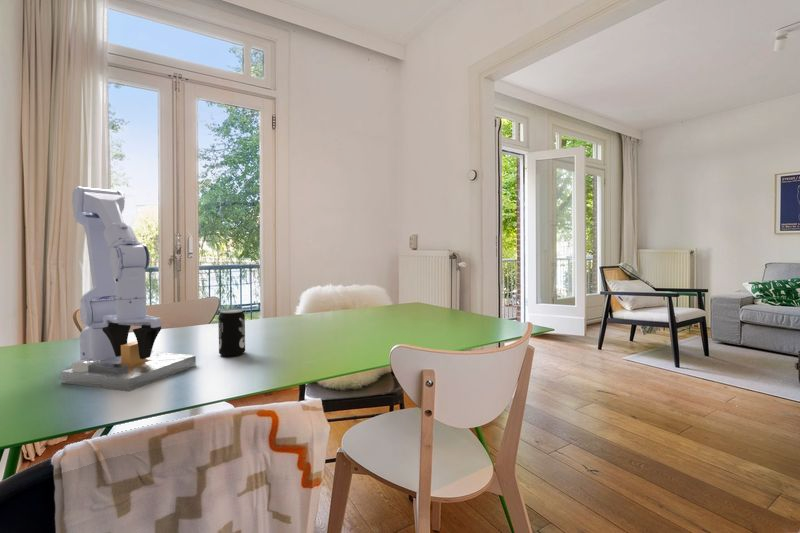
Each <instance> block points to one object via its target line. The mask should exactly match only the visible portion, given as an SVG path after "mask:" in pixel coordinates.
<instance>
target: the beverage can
mask: <svg viewBox="0 0 800 533" xmlns="http://www.w3.org/2000/svg"><path fill="white" fill-rule="evenodd" d="M219 312H220V313H219V315H218V317H217V321H218V325H217V326H218V354H220V356H221V357H224V358H233V357H238V356H242V355H243V354H244V353H245V352H246V318H245V317H246V315H245V313H244V309H242V308H241V309H240V308H228V309H227V308H226V309H221V310H220V311H219Z"/></svg>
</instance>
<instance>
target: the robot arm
mask: <svg viewBox="0 0 800 533" xmlns="http://www.w3.org/2000/svg"><path fill="white" fill-rule="evenodd" d="M71 199H72V200H71V201H72V202H71V204H72V211H73V216H74V219H75V222H76V223H79V224H80V225H82V226H83V229H84V231H85V232H84V233H85V238H86V244H87V252H88V259H89V261H88V262H89V267H90V276H91V282H92V283H91V284H92V287H91V289H90V290H89V291H87V292H85V293H84V294H83V295H82V296H81V298H80V300H79V301H80V302H79V303H80V309H79V310H80V312H79V314H80V316H79V317H80V319H81V320H80V321H81V323H82V324H83V325H84V328H83V329H82V330H81V331H80V334H79V353H80V354H79V355H80V356H79V359H77V360H76V361H79V360H84V359H100V360H104V359H107V358H111V357H114V356H116V357H119V356H121V345H124V344H128V337H129V333H130V330H131V327H132V326H134V327H137V328H134V329H132V332H133V334H134V337H135V338H136V341H137V342H138V348H139V356H140V359H145V358H148V357H150V356H151V352H152V351H153V348H154V344H155V341H156V339H157V337H158V335H159V334H160V332H161V330H162V317H157V316H152V315H147V313H148V312H147V287H146V286H147V283H146V282H147V280H146V279H147V278H146V277H147V275H146V270H148V269H149V267H150V262H151V255H150V254H151V253H150V251H149V247H148V246H147V245H146V244H145V243H144V244H143V242H139V240H138V238H137V236H136V234H135V232H134V230H133V227H132V226H131V225H129V224H128V223H125V222H124V219H123V216H122V213H123V212H124V210H125V197H124V194H123V192H122V191H121V190H120V189H116V190H114V189H104V188H93V187H83V186H80V185H77V186H76V187H75V188H73V190H72V195H71Z"/></svg>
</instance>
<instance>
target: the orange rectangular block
mask: <svg viewBox="0 0 800 533" xmlns="http://www.w3.org/2000/svg"><path fill="white" fill-rule="evenodd" d="M145 362H146V358H145V359H140V356H139V348H138V342H137V340H135V341H133V342H132V341H131V342H127V344H124V345H121V364H122V365H128V367H132V366H135V365H138V364H141V363H145Z"/></svg>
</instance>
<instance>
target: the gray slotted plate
mask: <svg viewBox="0 0 800 533" xmlns="http://www.w3.org/2000/svg"><path fill="white" fill-rule="evenodd" d="M196 359H197V356H196V355H194V354H184V353H173V352H172V353H171V352H162V351H161V352H160V351H154V350H152V352H151V356H150V357H148V358H146V362H145V363H141V364H138V365H135V366H132V367H128V365H122V364H121V356H119V357H116V356H114V357H111V358H107V359H104V360H100V359H84V360H79V361H77V360H76V361H73V362H72V363H71V368H70V369H65V370H62V371H60V372H61V384H68V385H75V386H76V385H77V386H83V387H92V388H99V389H100V388H101V389H102V388H103V389H107V390H108V389H109V390H118V391H122V392H123V391H124V392H130V391H133V390H135V389H138V388H141V387H143V386H146V385H149V384H152V383H154V382H157V381H159V380H161V379H164V378H166V377H169V376H172V375H175V374H177V373H179V372H183V371H186V370H187V369H190V368H192V367H193V368H194V367H196V365H197V362H196Z"/></svg>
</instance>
